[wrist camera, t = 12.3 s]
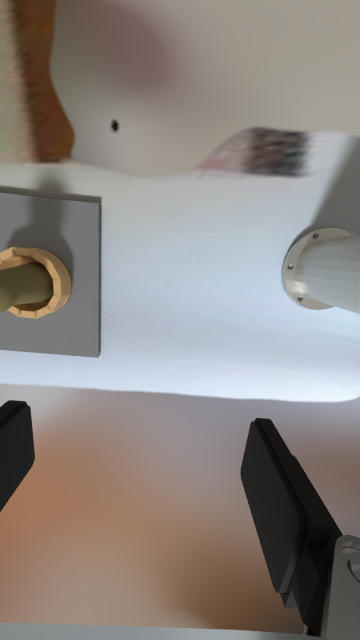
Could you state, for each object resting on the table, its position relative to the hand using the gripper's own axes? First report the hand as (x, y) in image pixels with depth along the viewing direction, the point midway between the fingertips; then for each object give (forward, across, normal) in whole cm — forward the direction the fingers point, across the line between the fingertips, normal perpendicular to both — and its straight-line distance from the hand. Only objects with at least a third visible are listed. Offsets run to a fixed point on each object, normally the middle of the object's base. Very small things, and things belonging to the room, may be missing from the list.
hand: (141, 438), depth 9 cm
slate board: (+28, +20, -2) cm, 35 cm away
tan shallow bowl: (+27, +20, -2) cm, 34 cm away
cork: (+27, +20, -2) cm, 33 cm away
